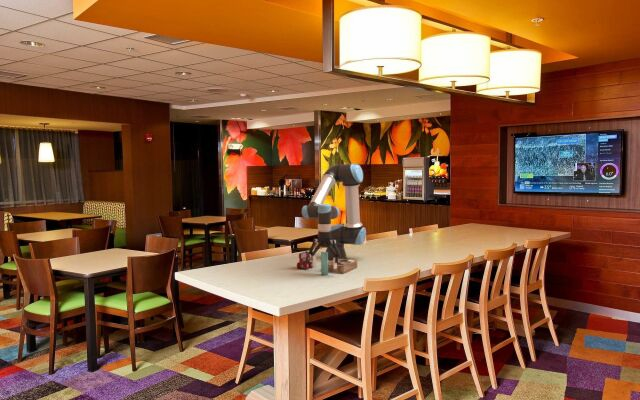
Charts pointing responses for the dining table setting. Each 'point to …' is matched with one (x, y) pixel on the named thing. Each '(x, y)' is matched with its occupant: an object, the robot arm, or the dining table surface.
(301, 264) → the dark red rounded figure
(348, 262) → the socket board
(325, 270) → the plug
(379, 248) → the dining table surface
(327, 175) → the robot arm
